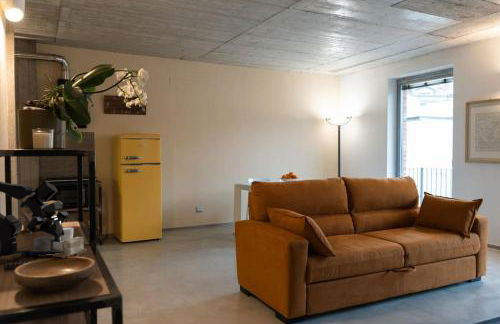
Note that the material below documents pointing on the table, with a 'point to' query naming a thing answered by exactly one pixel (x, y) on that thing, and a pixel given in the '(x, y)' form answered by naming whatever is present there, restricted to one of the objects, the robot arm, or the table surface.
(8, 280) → the table surface
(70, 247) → the base
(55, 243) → the dark knobbed lever handle
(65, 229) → the shot glass
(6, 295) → the table surface
